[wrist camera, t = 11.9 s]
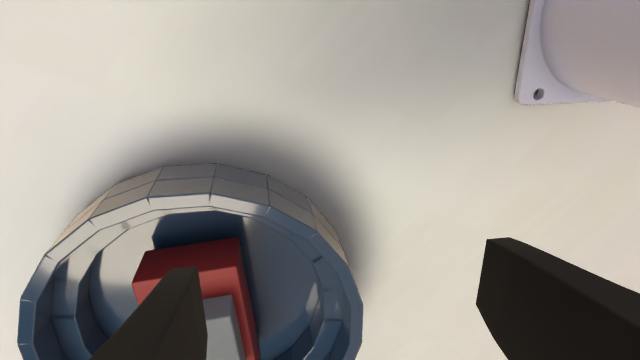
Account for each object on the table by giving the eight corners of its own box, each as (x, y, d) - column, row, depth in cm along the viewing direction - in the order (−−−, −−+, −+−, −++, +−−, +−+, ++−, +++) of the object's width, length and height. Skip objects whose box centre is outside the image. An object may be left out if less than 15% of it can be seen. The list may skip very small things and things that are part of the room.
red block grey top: (238, 230, 20) (235, 287, 16) (260, 341, 22) (262, 415, 18) (147, 243, 19) (120, 306, 15) (181, 355, 22) (165, 434, 18)
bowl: (347, 150, 19) (368, 181, 16) (344, 373, 25) (358, 431, 22) (21, 169, 18) (-36, 209, 14) (95, 405, 23) (67, 476, 20)
